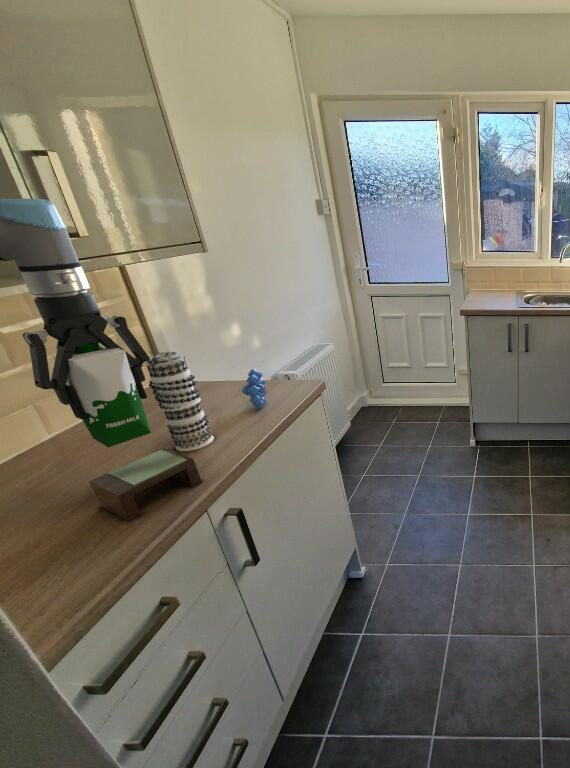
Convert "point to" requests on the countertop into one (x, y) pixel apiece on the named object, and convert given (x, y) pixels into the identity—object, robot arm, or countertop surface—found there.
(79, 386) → the milk carton
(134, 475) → the brown wooden stand
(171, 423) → the white patterned cylinder
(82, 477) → the countertop surface
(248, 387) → the grapes
